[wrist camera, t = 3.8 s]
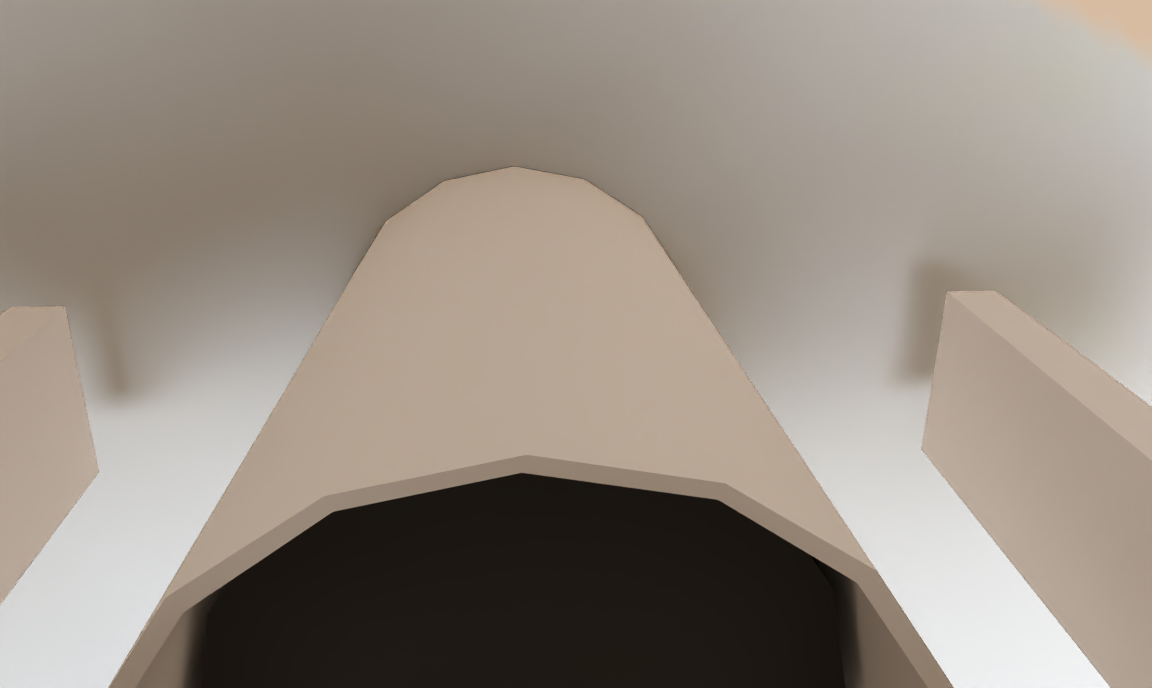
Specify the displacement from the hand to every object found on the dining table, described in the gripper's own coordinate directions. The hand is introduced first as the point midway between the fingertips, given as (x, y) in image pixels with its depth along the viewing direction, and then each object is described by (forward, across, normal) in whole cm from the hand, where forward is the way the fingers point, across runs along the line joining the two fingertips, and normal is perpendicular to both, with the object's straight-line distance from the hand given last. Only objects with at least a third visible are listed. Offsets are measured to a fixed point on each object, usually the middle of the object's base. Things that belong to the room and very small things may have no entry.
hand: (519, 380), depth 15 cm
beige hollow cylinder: (+2, 0, 0) cm, 2 cm away
